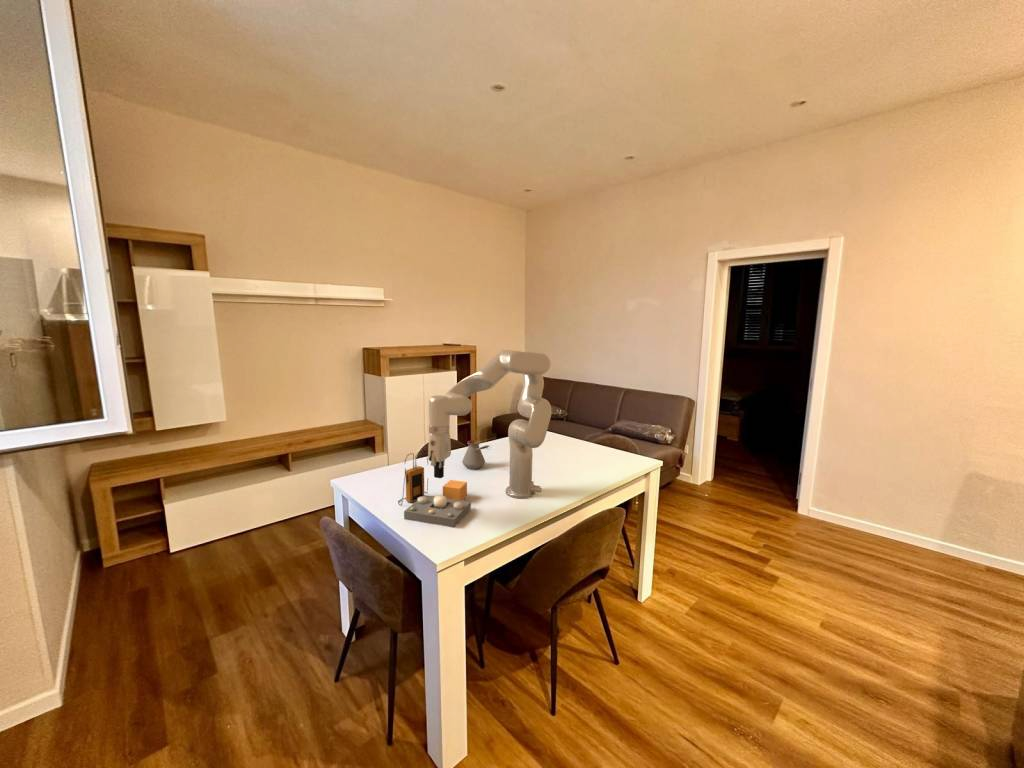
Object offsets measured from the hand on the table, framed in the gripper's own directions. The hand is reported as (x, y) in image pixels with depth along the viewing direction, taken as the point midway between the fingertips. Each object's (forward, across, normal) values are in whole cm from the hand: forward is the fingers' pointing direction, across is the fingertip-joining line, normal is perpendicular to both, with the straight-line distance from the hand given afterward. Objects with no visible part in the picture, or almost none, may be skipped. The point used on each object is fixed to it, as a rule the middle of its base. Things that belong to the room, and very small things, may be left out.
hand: (438, 477), depth 151 cm
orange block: (+14, +14, 0) cm, 20 cm away
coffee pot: (+14, +48, +3) cm, 50 cm away
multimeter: (+14, +9, +18) cm, 24 cm away
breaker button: (+11, 0, 0) cm, 11 cm away
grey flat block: (+14, -1, 0) cm, 14 cm away
